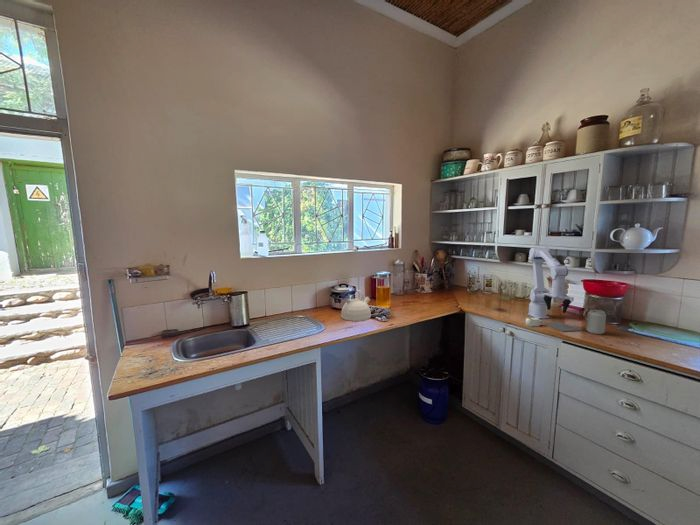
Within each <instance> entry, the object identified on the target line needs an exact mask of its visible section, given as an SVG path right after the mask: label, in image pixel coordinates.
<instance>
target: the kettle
mask: <svg viewBox="0 0 700 525" xmlns="http://www.w3.org/2000/svg"><path fill="white" fill-rule="evenodd" d="M352 293H359V294H360V297H361V298H352V299H349V300H347V302H345V303H344V304H343V306H342V308H341V312H340V313H341V315H340V317H341V319H343V320H346V321H349V322H361V321H366V320H369V319H371V317H372V313H371V312H372V310H371V308H370V305H369V304H368V303H369V302H370V301H371V299H370V297H369V296H365V295H364V293H363V292H362V291H361V290H360V289H354V290H351V291H347V292H346V293H344V294H343V295H342V296H341V297H340V298H341V299H345V298H346V297H347V296H348V295H350V294H352Z"/></svg>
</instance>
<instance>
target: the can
mask: <svg viewBox="0 0 700 525" xmlns="http://www.w3.org/2000/svg"><path fill="white" fill-rule="evenodd" d="M606 318H607V314H606V312H605V311H604V310H601V309H589V311H588V312H587V318H586V331H587V332H588V333H590V334H592V335H603V334H605V331H606V321H607V319H606Z"/></svg>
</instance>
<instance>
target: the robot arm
mask: <svg viewBox="0 0 700 525" xmlns="http://www.w3.org/2000/svg"><path fill="white" fill-rule="evenodd" d="M528 254H529V261H530V262H532V269H533V281H534V288H532V289H531V290H530V294H529V299H530V302H529V304H528V313H527V315H528V316H530V317H532V318H538V319H540V320H541V319H551V318H550V317H549V316H548V315H547V310H548V311H549V310H551V309H552V308H551V307H552V299H559V300H562V306H563V307H562V313H563V314H566V313H567V310H568V308H569V307H570V305H571V303H572V302H574V300H575V299H574V296H573V297H572V296H568V295H565V288H566V277H567V276H568V274H569V268H568V266H566V265H563V264H561V263H560V261H559V260H558V259H557V258H553V256H552V255H551V249H550V248H549V247H531V248H530V249H529V253H528ZM544 262H546V264H545V265H546V266H547V268H549V270H550V275H551V276H550V277H551V279H552V280H551V281H552V282H551V292H550V290H549V289H547V288H546V287H545V282H544V281H545V280H544V270H543V263H544Z"/></svg>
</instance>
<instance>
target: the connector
mask: <svg viewBox="0 0 700 525" xmlns="http://www.w3.org/2000/svg"><path fill="white" fill-rule="evenodd" d="M543 323H544V321H543V320H541V318H540V319H538V318H535V317H526V318H525V326H526V327H540V325H541V324H543Z"/></svg>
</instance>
